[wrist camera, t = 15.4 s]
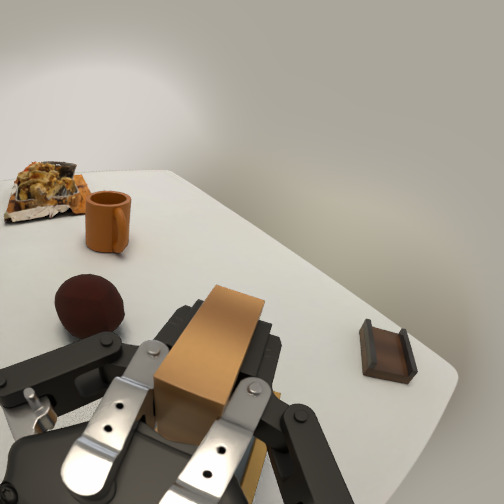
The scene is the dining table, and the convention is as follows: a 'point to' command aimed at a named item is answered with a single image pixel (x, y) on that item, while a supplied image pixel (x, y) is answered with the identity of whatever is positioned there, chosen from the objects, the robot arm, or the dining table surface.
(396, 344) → the brown u-shaped block
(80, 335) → the dark maroon ball
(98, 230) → the mug
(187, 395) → the wooden pedestal block
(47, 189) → the food tray
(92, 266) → the dining table surface
